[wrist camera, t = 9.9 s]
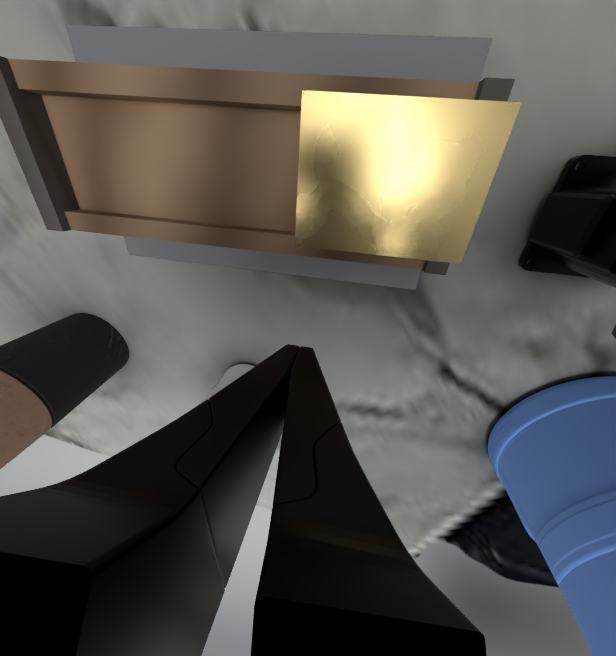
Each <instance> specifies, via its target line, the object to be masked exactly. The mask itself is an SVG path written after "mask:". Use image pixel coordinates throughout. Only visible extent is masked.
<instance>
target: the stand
mask: <svg viewBox="0 0 616 656" xmlns="http://www.w3.org/2000/svg"><path fill="white" fill-rule="evenodd" d="M66 27H67V31H68V34H69V38H70V42H71V45H72V49H73V53H74V56H75V60H76V62H81V63H101V64H121V65H141V66H161V67H181V68H201V69H221V70H241V71H261V72H281V73H301V74H321V75H341V76H361V77H381V78H401V79H421V80H441V81H461V82H479V80H480V77H481V73H482V70H483V67H484V63H485V60H486V57H487V54H488V50H489V47H490V44H491V40H492V38H466V37H434V36H401V35H369V34H337V33H305V32H272V31H240V30H208V29H175V28H143V27H111V26H78V25H66ZM124 238H125V241H126V245H127V249H128V252H129V255H136V256H144V257H152V258H160V259H168V260H177V261H185V262H193V263H201V264H209V265H217V266H225V267H233V268H241V269H249V270H257V271H266V272H274V273H282V274H290V275H298V276H306V277H314V278H322V279H330V280H338V281H347V282H355V283H363V284H371V285H379V286H387V287H395V288H403V289H411V290H416V287H417V284H418V280H419V277H420V274H421V269H412V268H403V267H394V266H385V265H377V264H368V263H359V262H350V261H341V260H333V259H324V258H315V257H306V256H297V255H288V254H280V253H271V252H262V251H253V250H244V249H235V248H227V247H218V246H209V245H200V244H191V243H183V242H174V241H165V240H156V239H147V238H138V237H130V236H124Z"/></svg>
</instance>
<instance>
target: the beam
mask: <svg viewBox="0 0 616 656" xmlns="http://www.w3.org/2000/svg"><path fill="white" fill-rule="evenodd" d="M514 81H515V79H500V78H485V79H483V80H482V81H481V82H461V81H441V80H421V79H401V78H381V77H361V76H341V75H321V74H301V73H281V72H261V71H241V70H221V69H201V68H181V67H161V66H141V65H121V64H101V63H81V62H61V61H41V60H21V59H7V58H4V57H1V56H0V117H1V120H2V122H3V124H4V127H5V129H6V132H7V134H8V136H9V139H10V141H11V144H12V146H13V148H14V151H15V153H16V156H17V158H18V161H19V163H20V165H21V168H22V170H23V173H24V175H25V177H26V180H27V182H28V185H29V187H30V189H31V192H32V194H33V197H34V199H35V201H36V204H37V206H38V209H39V211H40V214H41V216H42V218H43V221H44V223H45V226H46V228H47V230H56V231H68V230H77V231H85V232H94V233H103V234H112V235H121V236H130V237H138V238H147V239H156V240H165V241H174V242H183V243H191V244H200V245H209V246H218V247H227V248H235V249H244V250H253V251H262V252H271V253H280V254H288V255H297V256H306V257H315V258H324V259H333V260H341V261H350V262H359V263H368V264H377V265H385V266H394V267H403V268H412V269H421V270H423V271H424V272H425V273H432V274H441V275H446V272H447V269H448V266H449V263H446V262H437V261H428V260H419V259H410V258H401V257H392V256H383V255H374V254H365V253H356V252H346V251H337V250H328V249H319V248H310V247H301V246H295V229H296V208H297V187H298V166H299V144H300V123H301V102H302V90H308V91H326V92H344V93H362V94H380V95H398V96H416V97H433V98H451V99H469V100H487V101H505V102H507V100H508V98H509V95H510V92H511V89H512V86H513V84H514Z"/></svg>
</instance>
